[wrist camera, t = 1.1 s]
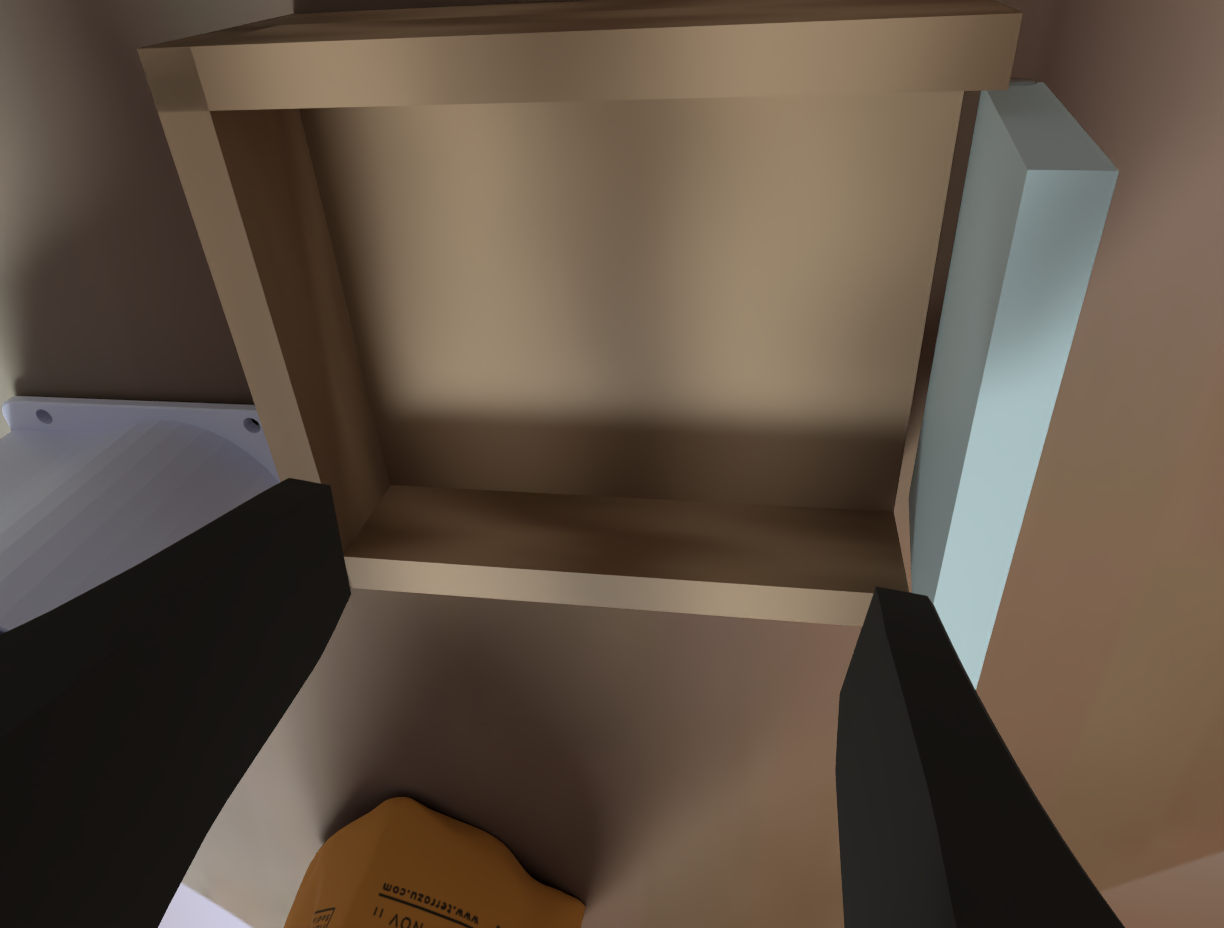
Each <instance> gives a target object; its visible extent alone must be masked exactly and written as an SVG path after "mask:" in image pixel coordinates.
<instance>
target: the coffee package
mask: <svg viewBox="0 0 1224 928" xmlns="http://www.w3.org/2000/svg"><path fill="white" fill-rule="evenodd" d="M584 911H585V906H584V904H583V903H582V902H581V901H580V900H578V899H576V898H574V897H572V896H570V895H568V894H565V893H564V892H562V891H560V890H557V889H555V888H552V887H549V886H546V885H544V884H542V883H540V882H538V881H536V880H535V879H533V878H532V877H531V876H530V875H529V874H528V873H527V872H526V871H525V870H524V869H523V867H522V866H521V865H520V864H519V862H518V861H517V859H516V858H515V856H514V855H513V854H512V853H511V851H510V850H509V849H508V848H507V847H506V846H505V845H504V844H503V843H502V842H501V841H499V840H498V839H497V838H495V837H493V836H492V835H490V834H488V833H486V832H484V831H482V830H480V829H478V828H476V827H473V826H471V825H468V824H465V823H463V822H460V821H458V820H455V819H453V818H451V817H448V816H446V815H443V814H441V813H438V812H436V811H433V810H431V809H429V808H427V807H425V806H423V805H422V804H420V803H418V802H417V801H415V800H413V799H411V798H409V797H395V798H391V799H388V800H386V801H384V802H382V803H381V804H380V805H379V806H377V807H376V808H375V809H373V810H372V811H371V812H369V813H367V814H365V815H364V816H362V817H360V818H358V819H357V820H355V821H353V822H352V823H350V824H348V825H347V826H345V827H343V828H342V829H340V830H339V831H338V832H336V833H335V834H334V835H333V836H332V837H330V838H329V839H328V840H327V841H326V843H324V844H323V846H322V847H321V848H320V849H319V851H318V852H317V853H316V855H315V857H314V859H313V860H312V862H311V863H310V865H309V867H308V869H307V871H306V874H305V876H304V878H303V881H302V883H301V885H300V888H299V890H298V892H297V895H296V898H295V900H294V903H293V905H292V908H291V910H290V912H289V915H288V917H287V920H286V923H285V925H284V928H581V924H582V920H583V915H584Z"/></svg>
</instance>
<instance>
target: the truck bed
mask: <svg viewBox="0 0 1224 928" xmlns="http://www.w3.org/2000/svg"><path fill="white" fill-rule="evenodd" d="M1022 17H1023V13H1022V12H1019V11H1017V10H1015V9H1013V8H1010V7H1008V6H1006V5H1003V4H1001V3H999V2H996V1H994V0H582V1H560V2H539V3H517V4H496V5H474V6H453V7H431V8H409V9H388V10H366V11H345V12H323V13H302V14H290V15H285V16H281V17H277V18H272V19H268V20H263V21H259V22H254V23H250V24H245V25H241V26H236V27H232V28H227V29H223V30H219V31H214V32H210V33H205V34H201V35H196V36H192V37H187V38H183V39H178V40H174V41H169V42H165V43H160V44H156V45H152V46H147V47H143V48H138V49H137V52H138V55H139V58H140V61H141V64H142V67H143V70H144V73H145V76H146V79H147V82H148V85H149V88H150V91H151V94H152V97H153V100H154V103H155V106H156V109H157V112H158V115H159V118H160V121H161V124H162V127H163V130H164V133H165V136H166V139H167V142H168V145H169V148H170V151H171V154H172V157H173V160H174V163H175V166H176V169H177V172H178V175H179V178H180V181H181V184H182V187H183V190H184V193H185V196H186V199H187V202H188V205H189V208H190V211H191V214H192V217H193V220H194V223H195V226H196V229H197V232H198V235H199V238H200V241H201V244H202V247H203V250H204V253H205V256H206V259H207V262H208V265H209V268H210V271H211V274H212V277H213V280H214V283H215V286H216V289H217V292H218V296H219V299H220V302H221V305H222V308H223V311H224V314H225V317H226V320H227V323H228V326H229V329H230V332H231V335H232V338H233V341H234V344H235V347H236V350H237V353H238V356H239V359H240V362H241V365H242V368H243V371H244V374H245V377H246V380H247V383H248V386H249V389H250V392H251V395H252V398H253V401H254V404H255V407H256V410H257V413H258V416H259V419H260V422H261V425H262V428H263V431H264V434H265V437H266V440H267V443H268V446H269V449H270V452H271V455H272V458H273V461H274V464H275V467H276V470H277V473H278V476H279V479H280V482H282V481H284V480H286V479H288V478H293V479H299V480H304V481H310V482H315V483H320V484H326V485H330V486H331V491H332V496H333V501H334V507H335V512H336V517H337V522H338V528H339V533H340V538H341V543H342V549H343V554H344V559H345V564H346V570H347V575H348V580H349V586H350V588H359V589H373V590H386V591H399V592H412V593H425V594H439V595H452V596H465V597H478V598H492V599H505V600H518V601H531V602H544V603H558V604H571V605H584V606H597V607H610V608H624V609H637V610H650V611H663V612H676V613H690V614H703V615H716V616H729V617H742V618H756V619H769V620H782V621H795V622H809V623H822V624H835V625H848V626H861V627H862V626H863V623H864V620H865V617H866V614H867V611H868V608H869V605H870V602H871V599H872V597H873V594H874V591H875V588H876V586H877V587H882V588H888V589H893V590H899V591H904V592H909V589H908V584H907V579H906V574H905V569H904V563H903V558H902V553H901V548H900V543H899V538H898V532H897V527H896V522H895V517H894V506H895V500H896V494H897V488H898V482H899V476H900V470H901V464H902V458H903V452H904V446H905V441H906V435H907V429H908V423H909V417H910V411H911V405H912V399H913V393H914V387H915V381H916V375H917V369H918V363H919V357H920V351H921V345H922V339H923V333H924V327H925V321H926V315H927V309H928V303H929V297H930V291H931V285H932V279H933V273H934V267H935V262H936V256H937V250H938V244H939V238H940V232H941V226H942V220H943V214H944V208H945V202H946V196H947V190H948V184H949V178H950V172H951V166H952V160H953V154H954V148H955V142H956V136H957V130H958V124H959V118H960V112H961V106H962V100H963V94H964V91H988V90H1008V89H1009V83H1010V78H1011V73H1012V68H1013V63H1014V58H1015V53H1016V47H1017V42H1018V37H1019V32H1020V27H1021V22H1022Z"/></svg>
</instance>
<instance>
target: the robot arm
mask: <svg viewBox="0 0 1224 928" xmlns="http://www.w3.org/2000/svg"><path fill="white" fill-rule="evenodd" d="M2 412H3V415H4V417H5V419H6V421H7V423H8V424H9V426H10V428H11V430H12V432H10V433H9V434H7V435H6V436H4V437H3V438H1V439H0V928H158V926H159V924H160V922H161V920H162V918H163V916H164V914H165V912H166V910H167V908H168V906H169V904H170V902H171V900H172V898H173V897H174V895H175V893H176V891H177V889H178V887H179V885H180V883H181V881H182V880H183V878H184V876H185V874H186V872H187V870H188V868H189V866H190V865H191V863H192V861H193V859H194V857H195V855H196V853H197V851H198V849H199V848H200V846H201V844H202V842H203V840H204V838H205V836H206V834H207V833H208V831H209V829H210V828H211V826H212V824H213V823H214V821H215V819H216V818H217V816H218V814H219V813H220V811H221V809H222V808H223V806H224V804H225V803H226V801H227V800H228V798H229V797H230V795H231V794H232V792H233V791H234V789H235V787H236V786H237V784H238V783H239V781H240V780H241V778H242V777H243V775H244V774H245V772H246V771H247V769H248V768H249V766H250V765H251V763H252V762H253V760H254V759H255V757H256V756H257V754H258V753H259V751H260V750H261V748H262V747H263V745H264V744H265V742H266V741H267V739H268V738H269V736H270V735H271V733H272V732H273V730H274V729H275V727H276V726H277V724H278V723H279V721H280V720H281V718H282V717H283V715H284V713H285V712H286V710H287V709H288V707H289V706H290V704H291V703H292V701H293V700H294V698H295V697H296V695H297V694H298V692H299V690H300V689H301V687H302V686H303V684H304V683H305V681H306V680H307V678H308V677H309V675H310V674H311V672H312V670H313V669H314V667H315V666H316V664H317V662H318V661H319V659H320V657H321V655H322V653H323V652H324V650H325V648H326V646H327V644H328V642H329V640H330V638H331V636H332V634H333V632H334V630H335V628H336V625H337V623H338V621H339V619H340V617H341V615H342V612H343V610H344V608H345V606H346V604H347V602H348V599H349V597H350V595H351V591H350V586H349V580H348V575H347V570H346V564H345V559H344V554H343V549H342V543H341V538H340V533H339V528H338V522H337V517H336V512H335V507H334V501H333V496H332V491H331V486H330V485H326V484H320V483H315V482H310V481H304V480H299V479H293V478H288V479H286V480H284V481H282V482H280V479H279V476H278V473H277V470H276V467H275V464H274V461H273V458H272V455H271V452H270V449H269V446H268V443H267V440H266V437H265V434H264V431H263V428H262V425H261V422H260V419H259V416H258V413H257V410H256V407H255V405H241V404H215V403H189V402H162V401H136V400H109V399H83V398H56V397H30V396H15V397H12V398H10V399H9V400H7V401H5V402H4V403H3V404H2ZM251 418H252V419H255V420H256V421H257V422H258V423H259V425H260V426H258V425H256V424H255V423H253V422H252V420H251ZM836 790H837V808H838V826H839V843H840V859H841V876H842V892H843V908H844V925H845V928H1125V927H1124V926H1123V924H1122V923H1121V921H1120V920H1119V919H1118V918H1117V916H1116V915H1115V913H1114V912H1113V910H1112V909H1111V908H1110V906H1109V905H1108V904H1107V902H1106V901H1105V899H1104V898H1103V897H1102V895H1101V894H1100V893H1099V891H1098V890H1097V888H1096V887H1095V885H1094V884H1093V883H1092V881H1091V880H1090V878H1089V877H1088V875H1087V874H1086V872H1085V871H1084V869H1083V868H1082V867H1081V865H1080V864H1079V862H1078V861H1077V859H1076V858H1075V856H1074V855H1073V853H1072V852H1071V850H1070V849H1069V847H1068V846H1067V844H1066V843H1065V841H1064V840H1063V838H1062V837H1061V835H1060V833H1059V832H1058V830H1057V829H1056V827H1055V826H1054V824H1053V822H1052V821H1051V819H1050V818H1049V816H1048V815H1047V813H1046V811H1045V810H1044V808H1043V807H1042V805H1041V804H1040V802H1039V800H1038V799H1037V797H1036V796H1035V794H1034V792H1033V791H1032V789H1031V787H1030V786H1029V784H1028V782H1027V781H1026V779H1025V777H1024V776H1023V774H1022V772H1021V771H1020V769H1019V767H1018V766H1017V764H1016V762H1015V760H1014V759H1013V757H1012V755H1011V753H1010V752H1009V750H1008V748H1007V746H1006V745H1005V743H1004V741H1003V739H1002V737H1001V736H1000V734H999V732H998V730H997V729H996V727H995V725H994V723H993V722H992V720H991V718H990V716H989V714H988V713H987V711H986V709H985V707H984V705H983V703H982V701H981V700H980V698H979V696H978V694H977V692H976V690H975V688H974V686H973V684H972V682H971V680H970V678H969V677H968V675H967V673H966V671H965V669H964V667H963V665H962V663H961V661H960V659H959V657H958V655H957V653H956V651H955V649H954V647H953V645H952V642H951V640H950V638H949V636H948V634H947V632H946V630H945V628H944V626H943V624H942V621H941V619H940V617H939V615H938V613H937V611H936V608H935V606H934V604H933V603H932V602H931V600H930V599H929V597H928V596H926V595H920V594H915V593H909V592H904V591H899V590H893V589H888V588H882V587H877V586H876V588H875V591H874V594H873V597H872V599H871V602H870V605H869V608H868V611H867V614H866V617H865V620H864V623H863V626H862V629H861V632H860V635H859V638H858V641H857V644H856V647H855V650H854V653H853V656H852V659H851V662H850V665H849V668H848V671H847V674H846V677H845V680H844V683H843V686H842V689H841V692H840V700H839V715H838V731H837V751H836Z"/></svg>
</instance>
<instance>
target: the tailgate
mask: <svg viewBox="0 0 1224 928" xmlns="http://www.w3.org/2000/svg"><path fill="white" fill-rule="evenodd" d="M1118 174H1119V170H1118V169H1117V168H1116V167H1115V165H1114V164H1113V163H1112V162H1111V161H1110V160H1109V158H1108V157H1107V156H1106V155H1105V154H1104V153H1103V151H1102V150H1101V149H1100V148H1099V147H1098V146H1097V144H1096V143H1095V142H1094V141H1093V140H1092V138H1091V137H1090V136H1089V135H1088V134H1087V133H1086V131H1085V130H1084V129H1083V128H1082V127H1081V126H1080V124H1079V123H1078V122H1077V121H1076V120H1075V119H1074V117H1073V116H1072V115H1071V114H1070V113H1069V111H1068V110H1067V109H1066V108H1065V107H1064V106H1063V104H1062V103H1061V102H1060V101H1059V100H1058V99H1057V97H1056V96H1055V95H1054V94H1053V93H1052V92H1051V90H1050V89H1049V88H1048V87H1047V86H1046V85H1045V83H1044V82H1036V81H1034V80H1029V79H1015V78H1010V83H1009V89H1008V90H988V91H981V94H980V100H979V105H978V111H977V117H976V122H975V128H974V134H973V139H972V145H971V150H970V156H969V162H968V167H967V173H966V178H965V184H964V190H963V195H962V201H961V207H960V212H959V218H958V223H957V229H956V235H955V240H954V246H953V251H952V257H951V263H950V268H949V274H948V280H947V285H946V291H945V296H944V302H943V308H942V313H941V319H940V324H939V330H938V336H937V341H936V347H935V353H934V358H933V364H932V369H931V375H930V381H929V386H928V392H927V398H926V403H925V409H924V414H923V420H922V426H921V431H920V437H919V442H918V448H917V454H916V459H915V465H914V471H913V476H912V482H911V487H910V493H909V522H910V550H911V578H912V593H915V594H920V595H926V596H928V597H929V599H930V600H931V602H932V603H933V604H934V606H935V608H936V611H937V613H938V615H939V617H940V619H941V621H942V624H943V626H944V628H945V630H946V632H947V634H948V636H949V638H950V640H951V642H952V645H953V647H954V649H955V651H956V653H957V655H958V657H959V659H960V661H961V663H962V665H963V667H964V669H965V671H966V673H967V675H968V677H969V678H970V680H971V682H972V684H973V686H974V688H975V690H976V687H977V684H978V680H979V676H980V673H981V669H982V665H983V662H984V658H985V655H986V651H987V647H988V644H989V640H990V637H991V633H992V629H993V626H994V622H995V618H996V615H997V611H998V608H999V604H1000V600H1001V597H1002V593H1003V590H1004V586H1005V582H1006V579H1007V575H1008V571H1009V568H1010V564H1011V561H1012V557H1013V553H1014V550H1015V546H1016V543H1017V539H1018V535H1019V532H1020V528H1021V524H1022V521H1023V517H1024V514H1025V510H1026V506H1027V503H1028V499H1029V495H1030V492H1031V488H1032V485H1033V481H1034V477H1035V474H1036V470H1037V467H1038V463H1039V459H1040V456H1041V452H1042V448H1043V445H1044V441H1045V438H1046V434H1047V430H1048V427H1049V423H1050V420H1051V416H1052V412H1053V409H1054V405H1055V401H1056V398H1057V394H1058V391H1059V387H1060V383H1061V380H1062V376H1063V373H1064V369H1065V365H1066V362H1067V358H1068V354H1069V351H1070V347H1071V344H1072V340H1073V336H1074V333H1075V329H1076V325H1077V322H1078V318H1079V315H1080V311H1081V307H1082V304H1083V300H1084V297H1085V293H1086V289H1087V286H1088V282H1089V278H1090V275H1091V271H1092V268H1093V264H1094V260H1095V257H1096V253H1097V250H1098V246H1099V242H1100V239H1101V235H1102V231H1103V228H1104V224H1105V221H1106V217H1107V213H1108V210H1109V206H1110V203H1111V199H1112V195H1113V192H1114V188H1115V184H1116V181H1117V177H1118Z"/></svg>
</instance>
